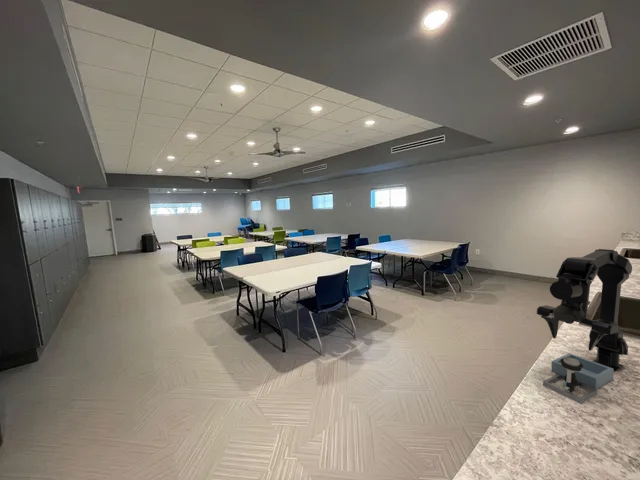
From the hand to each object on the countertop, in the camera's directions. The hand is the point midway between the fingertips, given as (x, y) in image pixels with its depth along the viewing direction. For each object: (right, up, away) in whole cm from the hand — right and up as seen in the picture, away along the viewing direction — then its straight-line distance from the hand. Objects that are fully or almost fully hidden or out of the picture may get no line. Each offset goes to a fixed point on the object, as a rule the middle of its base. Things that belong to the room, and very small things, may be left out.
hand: (571, 344), depth 88 cm
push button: (-1, -15, 0) cm, 15 cm away
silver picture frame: (-1, -15, 0) cm, 15 cm away
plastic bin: (+10, -14, +7) cm, 18 cm away
